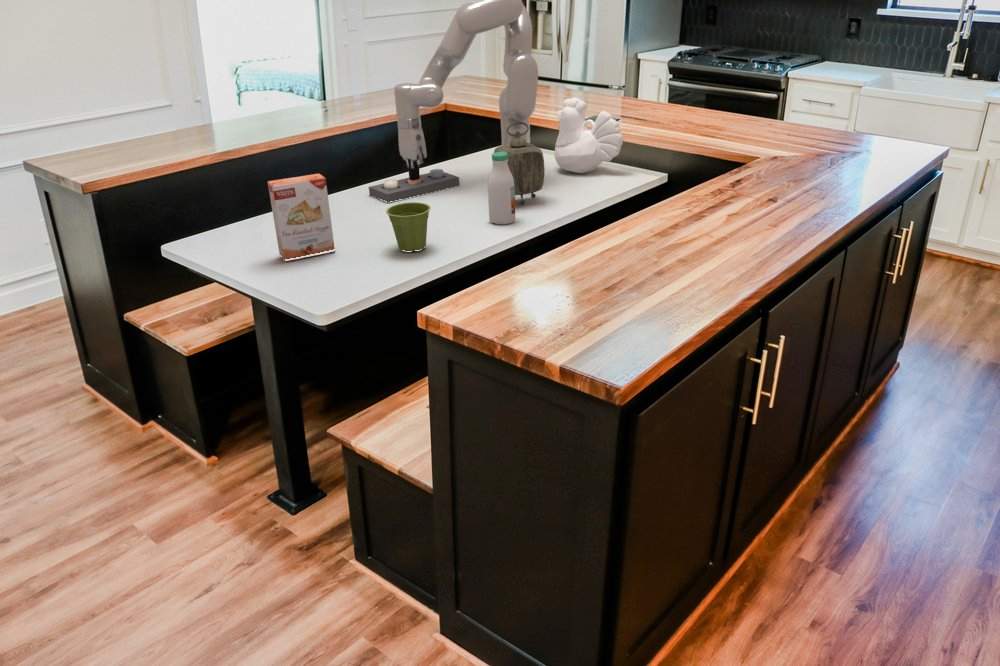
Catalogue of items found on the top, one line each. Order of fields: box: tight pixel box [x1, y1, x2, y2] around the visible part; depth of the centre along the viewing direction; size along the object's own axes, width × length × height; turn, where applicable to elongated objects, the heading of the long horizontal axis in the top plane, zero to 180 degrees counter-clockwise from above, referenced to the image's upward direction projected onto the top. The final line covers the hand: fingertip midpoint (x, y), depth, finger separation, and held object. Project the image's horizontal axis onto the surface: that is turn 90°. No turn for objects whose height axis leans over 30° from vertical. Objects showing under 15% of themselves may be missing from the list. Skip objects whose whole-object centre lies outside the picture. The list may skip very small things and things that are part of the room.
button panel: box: [368, 171, 461, 202], centre depth 263 cm, size 12×28×3 cm, turn 128°
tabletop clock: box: [493, 122, 546, 206], centre depth 241 cm, size 14×9×25 cm, turn 108°
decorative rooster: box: [554, 97, 624, 174], centre depth 270 cm, size 25×16×25 cm, turn 43°
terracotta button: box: [408, 179, 421, 185], centre depth 263 cm, size 4×4×3 cm
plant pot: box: [385, 201, 432, 252], centre depth 211 cm, size 12×12×11 cm
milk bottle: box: [487, 152, 516, 225], centre depth 227 cm, size 8×8×20 cm
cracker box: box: [267, 173, 336, 261], centre depth 208 cm, size 14×6×21 cm, turn 117°
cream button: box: [383, 179, 398, 190], centre depth 258 cm, size 4×4×3 cm
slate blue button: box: [429, 168, 444, 179], centre depth 267 cm, size 4×4×3 cm
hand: (414, 179), depth 262 cm, fingers closed
